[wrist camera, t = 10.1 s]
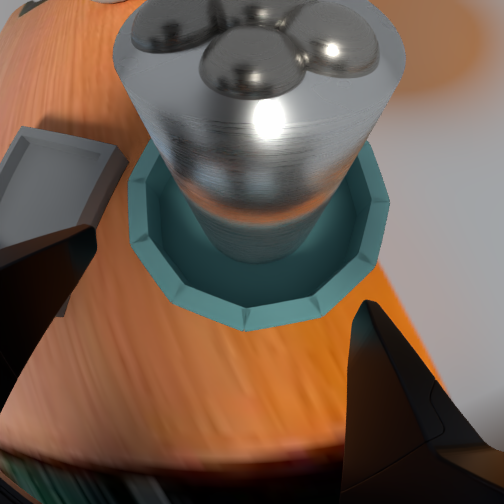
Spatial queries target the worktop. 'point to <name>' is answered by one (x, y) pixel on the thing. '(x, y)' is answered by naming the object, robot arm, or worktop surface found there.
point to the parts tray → (54, 184)
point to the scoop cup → (258, 107)
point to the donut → (108, 1)
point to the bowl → (260, 275)
